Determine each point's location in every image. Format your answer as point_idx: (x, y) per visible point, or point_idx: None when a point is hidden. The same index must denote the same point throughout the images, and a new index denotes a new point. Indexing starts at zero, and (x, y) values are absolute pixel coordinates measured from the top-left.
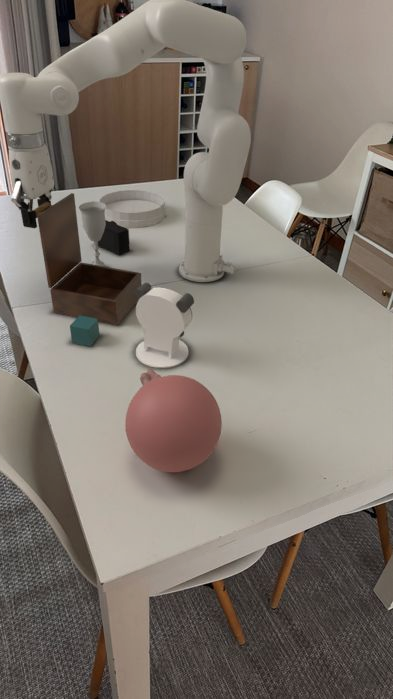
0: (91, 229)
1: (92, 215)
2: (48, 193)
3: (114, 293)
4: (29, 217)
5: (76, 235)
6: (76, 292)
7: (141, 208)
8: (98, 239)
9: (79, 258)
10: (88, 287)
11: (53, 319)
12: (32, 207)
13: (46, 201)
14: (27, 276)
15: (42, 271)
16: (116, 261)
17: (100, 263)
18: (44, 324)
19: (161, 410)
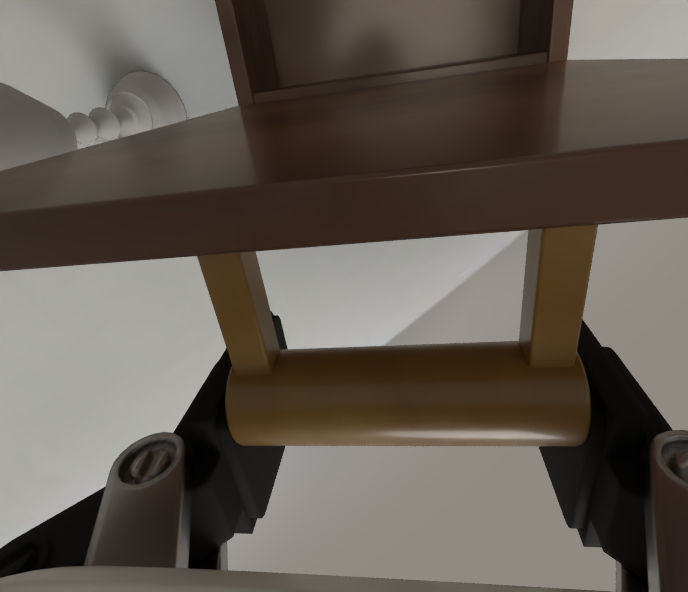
0: (28, 123)
1: None
2: (138, 521)
3: None
4: (642, 397)
5: (190, 123)
6: (362, 66)
7: None
8: (42, 103)
9: (247, 105)
10: (299, 43)
11: (581, 30)
12: (653, 474)
13: (227, 446)
14: (329, 315)
15: (277, 294)
16: (42, 89)
17: (127, 100)
18: (630, 40)
19: None
